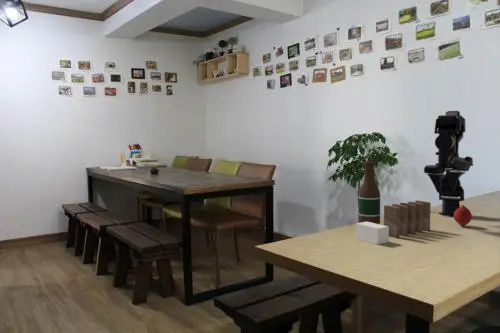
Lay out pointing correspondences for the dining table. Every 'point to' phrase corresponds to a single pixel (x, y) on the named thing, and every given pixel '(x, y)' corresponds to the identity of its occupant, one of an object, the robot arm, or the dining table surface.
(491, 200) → the dining table surface
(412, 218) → the domino
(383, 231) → the end block
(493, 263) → the dining table surface
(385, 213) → the domino
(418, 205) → the domino
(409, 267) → the dining table surface
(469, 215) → the onion
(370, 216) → the beer bottle
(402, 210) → the domino
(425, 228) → the domino
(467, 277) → the dining table surface
